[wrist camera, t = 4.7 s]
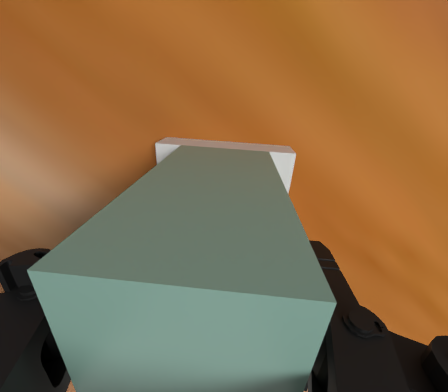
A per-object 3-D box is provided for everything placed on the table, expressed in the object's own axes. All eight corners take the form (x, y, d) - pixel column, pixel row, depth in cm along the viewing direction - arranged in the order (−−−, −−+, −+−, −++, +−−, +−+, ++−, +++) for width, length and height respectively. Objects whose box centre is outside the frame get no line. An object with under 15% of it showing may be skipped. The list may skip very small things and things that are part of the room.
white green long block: (177, 368, 25) (128, 573, 15) (166, 137, 15) (-59, 261, 4) (248, 377, 25) (251, 594, 14) (289, 146, 14) (438, 313, 3)
